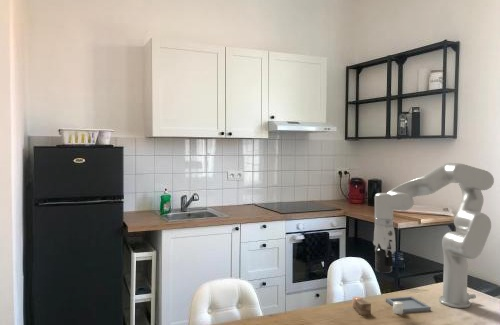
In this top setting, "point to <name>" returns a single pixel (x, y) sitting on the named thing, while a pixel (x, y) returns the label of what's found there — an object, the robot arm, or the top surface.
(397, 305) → the white egg
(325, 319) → the top surface
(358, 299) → the peach rounded dome
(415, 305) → the tray
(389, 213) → the robot arm
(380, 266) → the supplement bottle
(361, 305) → the walnut block
